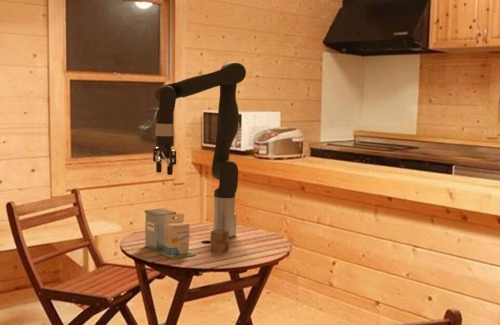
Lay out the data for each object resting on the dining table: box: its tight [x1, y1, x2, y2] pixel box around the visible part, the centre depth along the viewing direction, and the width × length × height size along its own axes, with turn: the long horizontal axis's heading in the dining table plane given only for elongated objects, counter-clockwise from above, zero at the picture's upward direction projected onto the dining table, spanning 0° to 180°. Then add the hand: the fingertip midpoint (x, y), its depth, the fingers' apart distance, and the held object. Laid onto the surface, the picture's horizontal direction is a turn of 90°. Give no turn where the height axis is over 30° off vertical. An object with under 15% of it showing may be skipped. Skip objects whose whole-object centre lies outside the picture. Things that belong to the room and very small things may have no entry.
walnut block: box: [210, 229, 230, 254], centre depth 229 cm, size 5×5×8 cm
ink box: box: [164, 213, 191, 255], centre depth 221 cm, size 8×5×15 cm, turn 125°
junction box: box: [144, 207, 177, 252], centre depth 231 cm, size 9×10×15 cm
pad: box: [155, 250, 196, 260], centre depth 222 cm, size 10×12×1 cm
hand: (164, 173), depth 241 cm, fingers open, 8 cm apart
